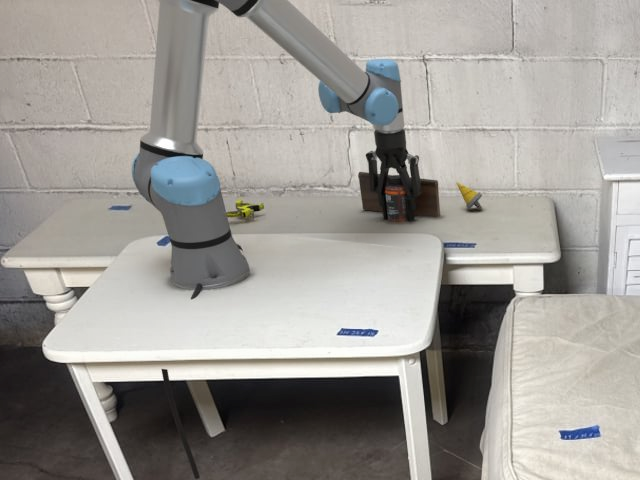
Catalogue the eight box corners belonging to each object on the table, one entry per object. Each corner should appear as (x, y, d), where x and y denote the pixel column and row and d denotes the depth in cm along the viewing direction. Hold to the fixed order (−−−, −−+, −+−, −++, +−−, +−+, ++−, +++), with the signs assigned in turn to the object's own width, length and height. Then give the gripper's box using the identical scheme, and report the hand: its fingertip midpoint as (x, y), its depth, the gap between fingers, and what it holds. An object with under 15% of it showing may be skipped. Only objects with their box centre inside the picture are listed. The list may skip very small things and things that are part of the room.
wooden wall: (437, 218, 193) (435, 181, 187) (362, 209, 197) (357, 173, 192) (440, 216, 194) (438, 179, 188) (366, 207, 199) (361, 170, 193)
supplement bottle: (413, 218, 193) (410, 174, 188) (407, 224, 188) (404, 179, 182) (391, 216, 194) (388, 173, 188) (384, 223, 188) (381, 178, 183)
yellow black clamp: (237, 196, 194) (264, 197, 194) (240, 211, 196) (266, 211, 196) (220, 208, 184) (248, 209, 184) (223, 223, 186) (251, 224, 186)
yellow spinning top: (476, 214, 195) (449, 187, 193) (475, 218, 200) (449, 191, 199) (490, 201, 195) (463, 173, 194) (488, 204, 201) (463, 177, 199)
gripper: (431, 128, 178) (438, 218, 192) (361, 122, 182) (372, 210, 196) (419, 136, 172) (427, 229, 186) (346, 129, 176) (359, 221, 190)
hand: (399, 219), depth 191 cm, fingers closed on supplement bottle, 6 cm apart
